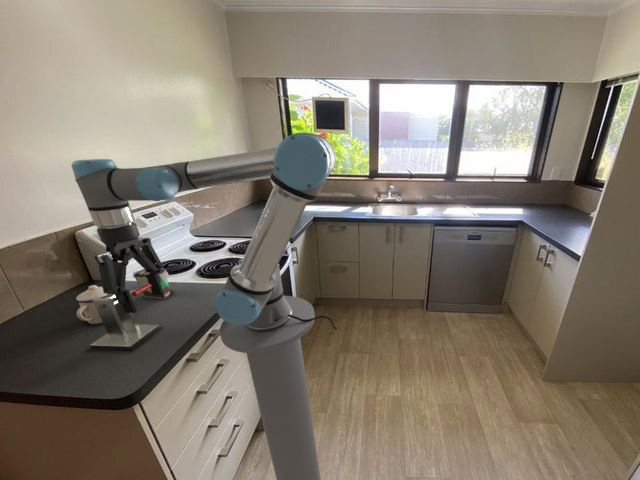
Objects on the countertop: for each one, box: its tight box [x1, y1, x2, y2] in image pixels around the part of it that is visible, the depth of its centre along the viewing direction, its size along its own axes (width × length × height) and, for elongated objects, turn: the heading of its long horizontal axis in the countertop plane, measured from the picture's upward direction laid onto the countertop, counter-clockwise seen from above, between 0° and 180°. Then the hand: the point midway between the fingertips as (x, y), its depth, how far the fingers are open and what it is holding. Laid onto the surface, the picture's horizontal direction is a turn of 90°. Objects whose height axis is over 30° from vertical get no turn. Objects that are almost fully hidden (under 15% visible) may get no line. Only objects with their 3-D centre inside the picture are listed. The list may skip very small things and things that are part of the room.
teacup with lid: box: [75, 284, 108, 325], centre depth 92 cm, size 12×9×12 cm
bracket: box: [89, 294, 160, 351], centre depth 83 cm, size 12×10×15 cm
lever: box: [107, 283, 151, 305], centre depth 79 cm, size 13×5×2 cm, turn 87°
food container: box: [132, 267, 171, 300], centre depth 108 cm, size 12×6×10 cm, turn 80°
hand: (145, 302), depth 80 cm, fingers open, 9 cm apart
